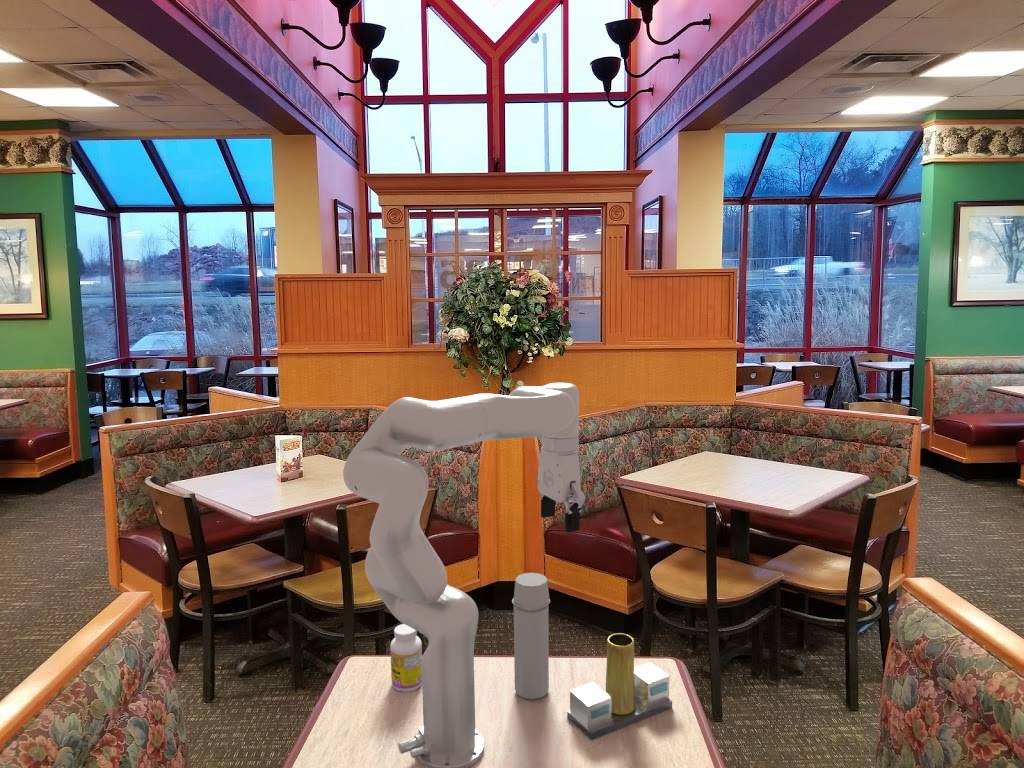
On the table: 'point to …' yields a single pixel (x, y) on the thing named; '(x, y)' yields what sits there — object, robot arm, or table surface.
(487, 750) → the table surface
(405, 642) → the supplement bottle
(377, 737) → the table surface
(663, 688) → the rail board
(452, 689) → the robot arm
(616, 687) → the vase
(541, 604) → the water bottle
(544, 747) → the table surface
